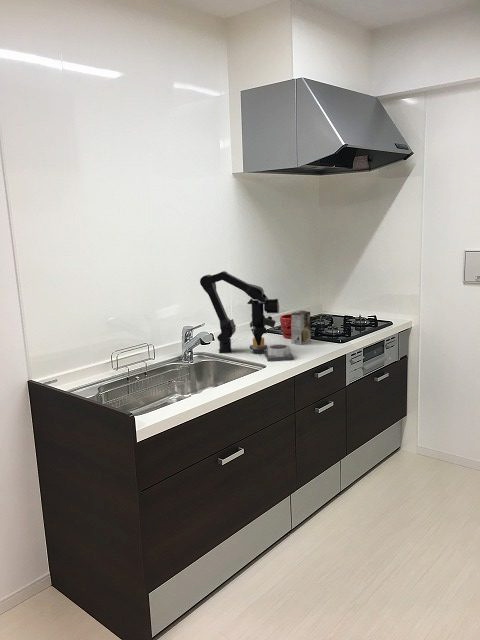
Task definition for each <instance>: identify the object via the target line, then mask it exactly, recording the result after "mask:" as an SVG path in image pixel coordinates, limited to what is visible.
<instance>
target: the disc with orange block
mask: <svg viewBox="0 0 480 640" xmlns="http://www.w3.org/2000/svg"><path fill="white" fill-rule="evenodd" d="M267 346H268V344H265V337H263V336H262V338H261V343H260V345H258V344H257V342H256V340H255V338H254V337H252V344H251V345H249V350H251V351H252V354H256V355H257V354H258V355H259V354H264V352H266V351H267Z"/></svg>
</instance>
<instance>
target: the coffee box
mask: <svg viewBox="0 0 480 640" xmlns="http://www.w3.org/2000/svg"><path fill="white" fill-rule="evenodd" d="M290 314H291V332H292V339H291V344H293V345H298V346H303V345H305V344H308V343H311V342H312V340H311V337H312V336H311V311H307V310H298V311H295V312H291V313H290Z"/></svg>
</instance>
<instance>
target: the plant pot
mask: <svg viewBox="0 0 480 640" xmlns="http://www.w3.org/2000/svg"><path fill="white" fill-rule="evenodd" d="M279 322H280V328H281V332H282V334H281V335H282V337H283V338H285V339H289V340H292V332H291V313H286V314H283V315H281V316H279Z"/></svg>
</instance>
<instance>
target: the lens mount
mask: <svg viewBox="0 0 480 640" xmlns="http://www.w3.org/2000/svg"><path fill="white" fill-rule="evenodd" d="M263 354H264V357H265V359H266V360H267V362H279V361H294V359H295V357H294V355H293V353H292V352H291V346H290V345H289V344H284V343H282V344H281V343H280V344H279V343H278V344H275V343H274V344H270V345H267V349H266V351H265V352H264V353H263Z"/></svg>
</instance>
